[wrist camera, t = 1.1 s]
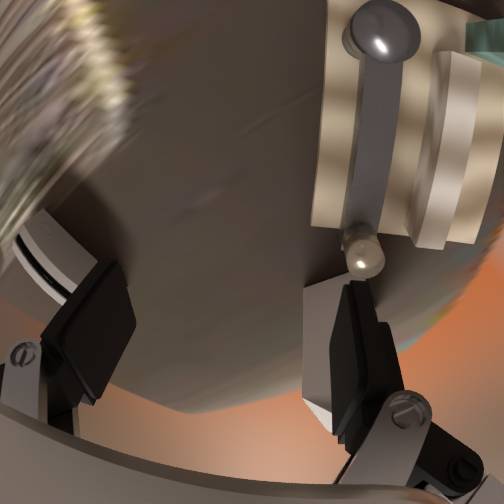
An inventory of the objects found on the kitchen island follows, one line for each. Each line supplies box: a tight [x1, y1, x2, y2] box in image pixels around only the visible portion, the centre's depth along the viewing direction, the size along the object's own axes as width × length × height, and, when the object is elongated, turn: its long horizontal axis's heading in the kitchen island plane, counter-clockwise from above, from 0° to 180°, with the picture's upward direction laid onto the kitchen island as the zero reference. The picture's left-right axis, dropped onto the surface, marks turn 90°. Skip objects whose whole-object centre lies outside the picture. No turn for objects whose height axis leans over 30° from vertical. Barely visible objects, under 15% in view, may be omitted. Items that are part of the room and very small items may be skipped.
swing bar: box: [338, 0, 421, 279], centre depth 18 cm, size 18×4×6 cm, turn 179°
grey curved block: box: [12, 208, 128, 306], centre depth 35 cm, size 17×5×10 cm, turn 44°
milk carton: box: [302, 272, 379, 433], centre depth 29 cm, size 7×7×19 cm
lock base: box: [311, 0, 504, 250], centre depth 21 cm, size 24×19×9 cm
